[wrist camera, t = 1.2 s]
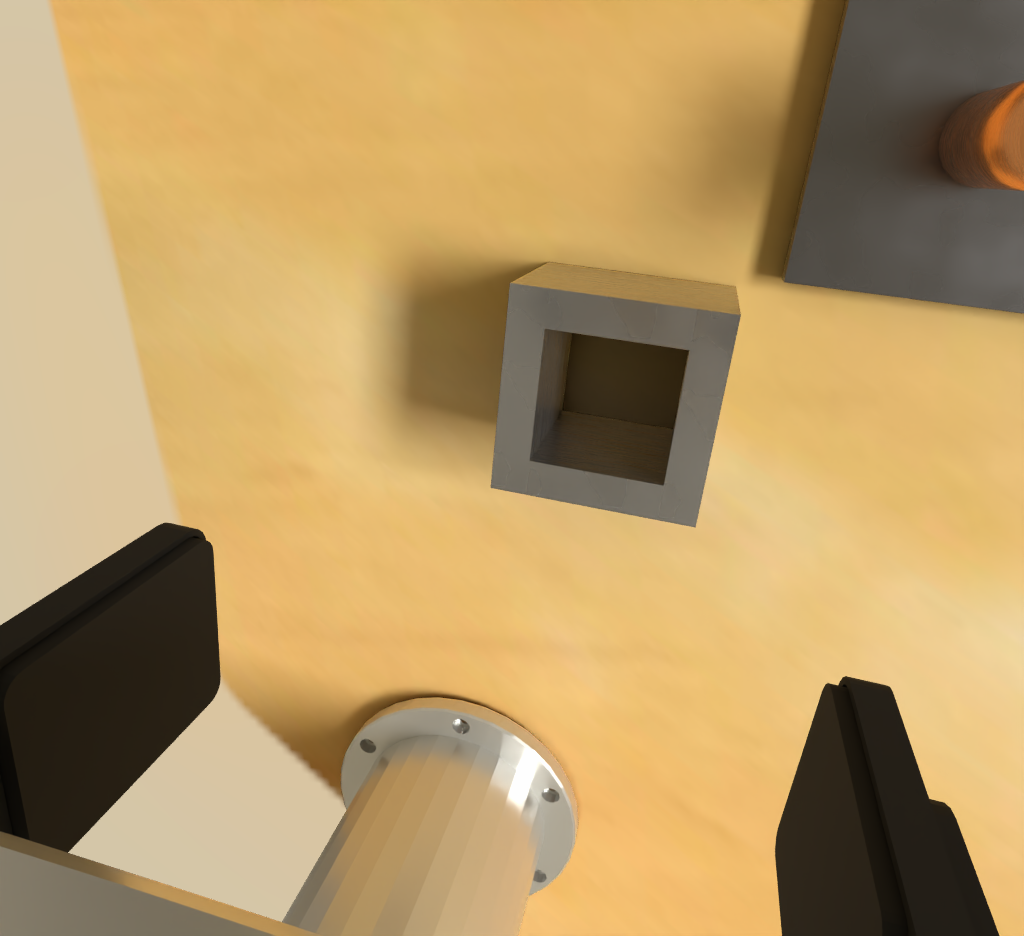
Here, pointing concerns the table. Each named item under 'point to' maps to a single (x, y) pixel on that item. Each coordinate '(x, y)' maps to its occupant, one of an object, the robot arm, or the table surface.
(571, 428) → the grey square open box
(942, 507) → the table surface
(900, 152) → the post
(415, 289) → the table surface
